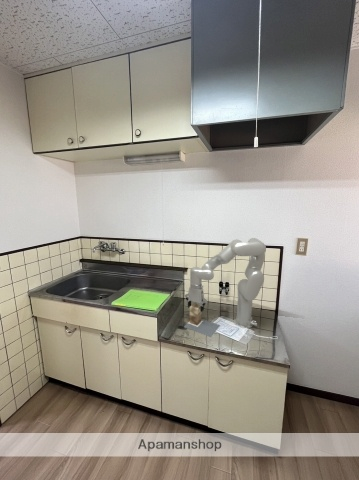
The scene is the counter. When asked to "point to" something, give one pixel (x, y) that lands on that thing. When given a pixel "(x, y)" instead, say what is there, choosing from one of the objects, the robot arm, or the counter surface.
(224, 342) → the counter surface
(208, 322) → the build board
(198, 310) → the maple block
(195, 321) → the walnut block
